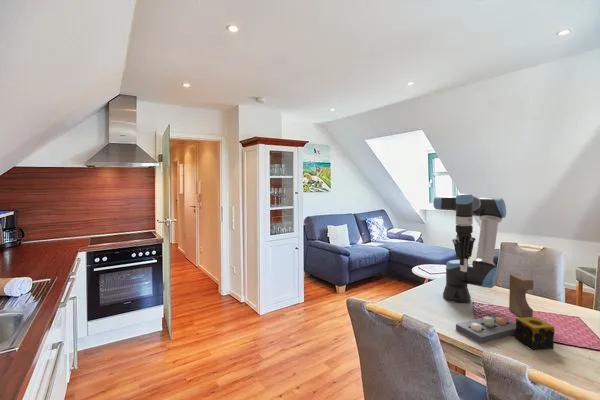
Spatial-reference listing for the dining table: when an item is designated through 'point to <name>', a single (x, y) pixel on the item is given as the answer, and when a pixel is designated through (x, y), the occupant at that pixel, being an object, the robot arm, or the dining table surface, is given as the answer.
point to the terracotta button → (501, 321)
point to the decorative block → (520, 295)
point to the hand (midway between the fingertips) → (463, 271)
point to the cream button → (476, 327)
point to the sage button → (488, 322)
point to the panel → (487, 330)
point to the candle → (534, 333)
